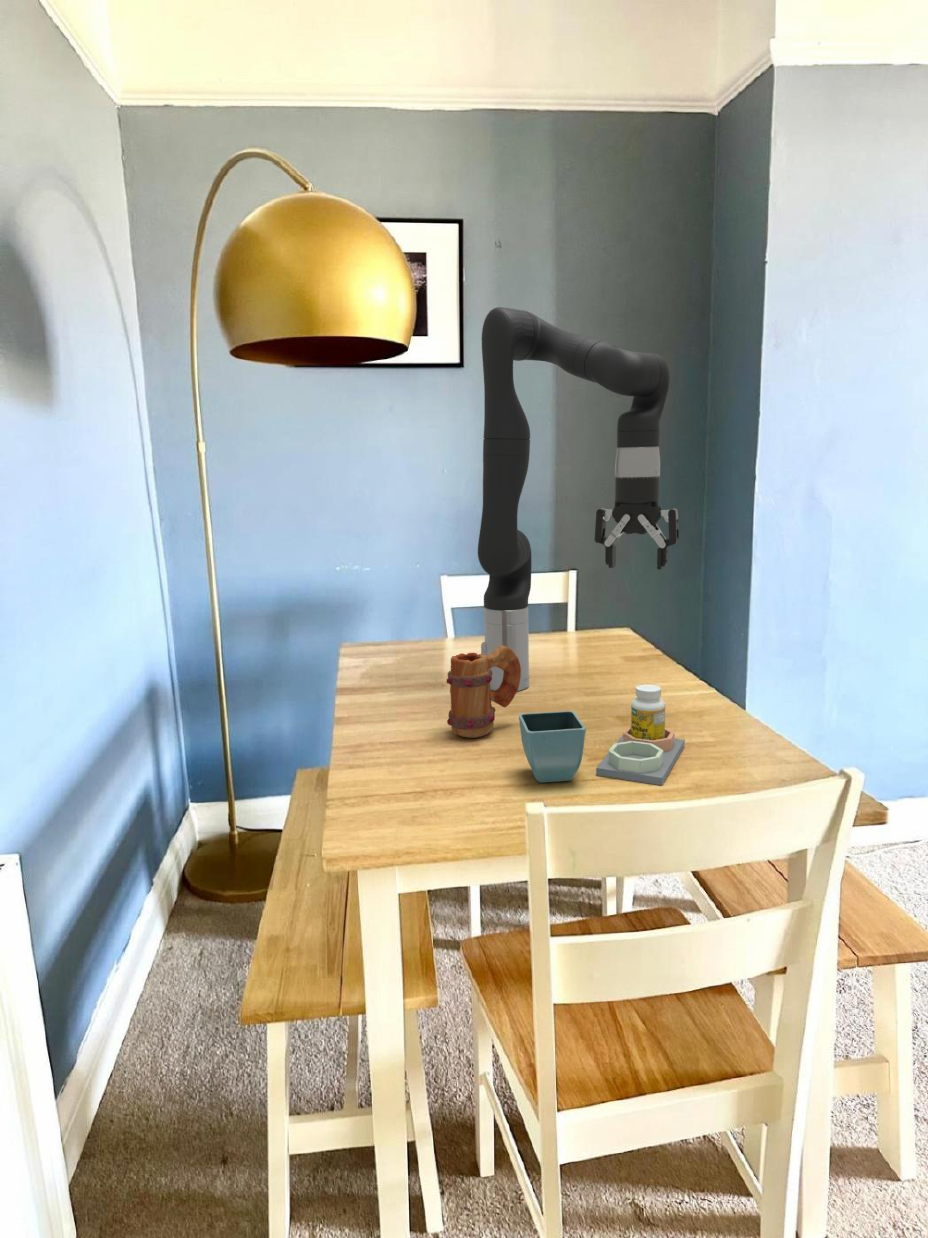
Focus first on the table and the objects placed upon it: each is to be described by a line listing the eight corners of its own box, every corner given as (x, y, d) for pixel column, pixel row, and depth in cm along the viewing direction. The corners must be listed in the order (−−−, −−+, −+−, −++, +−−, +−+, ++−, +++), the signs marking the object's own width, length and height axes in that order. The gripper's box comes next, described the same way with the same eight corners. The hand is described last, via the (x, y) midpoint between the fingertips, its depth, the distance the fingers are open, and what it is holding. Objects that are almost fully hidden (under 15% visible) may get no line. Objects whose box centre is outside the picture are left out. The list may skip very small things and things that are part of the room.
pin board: (596, 775, 121) (596, 755, 120) (625, 738, 136) (625, 720, 135) (662, 785, 116) (662, 765, 116) (684, 746, 131) (685, 728, 131)
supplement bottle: (671, 745, 129) (672, 688, 127) (648, 752, 126) (649, 694, 124) (646, 735, 133) (648, 681, 131) (623, 742, 130) (624, 687, 129)
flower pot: (518, 767, 125) (517, 712, 123) (573, 763, 126) (573, 709, 124) (527, 790, 116) (526, 732, 115) (586, 786, 117) (586, 728, 115)
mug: (458, 746, 134) (455, 660, 131) (437, 731, 142) (434, 650, 139) (531, 730, 141) (530, 648, 138) (508, 717, 148) (506, 639, 145)
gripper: (684, 473, 136) (681, 566, 139) (603, 474, 142) (602, 564, 145) (675, 474, 129) (672, 573, 132) (590, 475, 135) (590, 569, 139)
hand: (635, 568), depth 139 cm, fingers open, 8 cm apart
